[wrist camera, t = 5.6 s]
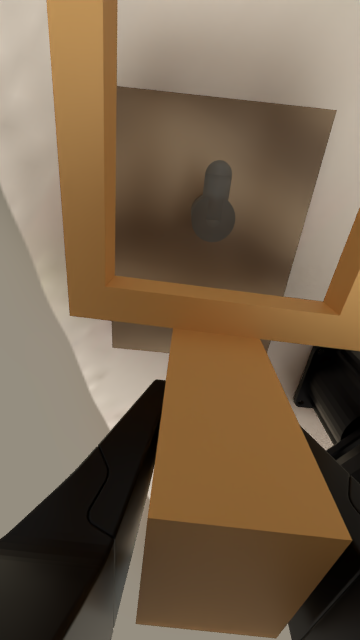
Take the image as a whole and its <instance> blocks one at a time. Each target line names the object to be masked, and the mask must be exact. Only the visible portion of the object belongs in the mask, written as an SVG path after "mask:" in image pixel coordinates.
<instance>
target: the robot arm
mask: <svg viewBox="0 0 360 640" xmlns="http://www.w3.org/2000/svg"><path fill="white" fill-rule="evenodd" d="M319 350H321V351H320V352H318V351H319ZM165 384H166V381H165V380H155V381H154V382H153V383H152V384H151V385H150V386H149V387H148V388H147V390H146V391H145V392H144V393H143V394H142V395H141V396H140V398H139V399H138V400H137V401H136V402H135V403H134V404H133V406H132V407H131V408H130V409H129V410H128V411H127V413H126V414H125V415H124V416H123V417H122V418H121V419H120V421H119V422H118V423H117V424H116V425H115V426H114V427H113V429H112V430H111V431H110V432H109V433H108V434H107V435H106V437H105V438H104V439H103V440H102V441H101V442H100V444H99V445H98V447H96V448H95V449H94V450H93V451H92V452H91V454H90V455H89V456H88V457H87V458H86V459H85V460H84V461H83V462H82V464H81V465H80V466H79V467H78V468H77V469H76V470H75V471H74V472H73V473H72V474H71V475H70V476H69V477H68V478H67V479H66V480H65V481H64V482H63V483H62V484H61V485H60V486H59V487H58V488H56V489H55V490H54V491H53V492H52V493H51V494H50V495H49V496H48V497H47V498H46V499H44V500H43V501H42V502H41V503H40V504H39V505H38V506H37V507H36V508H35V509H34V510H33V511H31V512H30V513H29V514H28V515H27V516H26V517H25V518H24V519H23V520H22V521H21V522H20V523H18V524H17V525H16V526H15V527H14V528H13V529H12V530H11V531H10V532H9V533H8V534H6V535H5V536H4V537H2V538H1V539H0V640H111V637H112V633H113V628H114V625H115V621H116V617H117V613H118V609H119V605H120V601H121V597H122V593H123V589H124V585H125V581H126V577H127V573H128V569H129V565H130V561H131V557H132V553H133V549H134V545H135V541H136V537H137V533H138V529H139V525H140V521H141V517H142V513H143V509H144V505H145V501H146V497H147V493H148V489H149V485H150V481H151V477H152V473H153V469H154V465H155V459H156V452H157V444H158V437H159V429H160V422H161V414H162V407H163V399H164V392H165ZM299 401H300V402H299ZM294 403H295V405H296V406H298V407H306V408H313V409H314V410H315V412H316V414H317V416H318V418H319V419H320V421H321V423H322V425H323V427H324V428H325V430H326V432H327V434H328V435H329V437H330V439H331V441H332V443H333V444H334V445H333V446H332V447H331V448H329V449H328V450H325V449H324V448H322V447H321V446H320V445H319V444H318V443H317V442H316V441H315V440H314V439H313V438H312V437H311V436H310V435H309V434H308V433H307V432H306V431H305V430H304V429H303V428H302V427H301V426H300V427H301V429H302V432H303V434H304V436H305V438H306V440H307V442H308V445H309V447H310V449H311V451H312V453H313V456H314V458H315V460H316V462H317V464H318V467H319V469H320V471H321V473H322V475H323V477H324V480H325V482H326V484H327V486H328V488H329V491H330V493H331V495H332V497H333V499H334V501H335V504H336V506H337V508H338V510H339V512H340V515H341V517H342V519H343V521H344V523H345V525H346V528H347V530H348V532H349V534H350V536H351V539H352V542H351V543H350V544H349V545H348V547H347V548H346V549H345V551H344V552H343V553H342V554H341V556H340V557H339V558H338V560H337V561H336V562H335V563H334V565H333V566H332V567H331V569H330V570H329V571H328V572H327V574H326V575H325V576H324V578H323V579H322V580H321V581H320V583H319V584H318V585H317V586H316V588H315V589H314V590H313V592H312V593H311V594H310V595H309V597H308V598H307V599H306V601H305V602H304V603H303V604H302V606H301V607H300V608H299V610H298V611H297V612H296V613H295V615H294V616H293V617H292V619H291V620H290V621H289V622H288V625H289V630H290V634H291V638H292V640H360V351H354V350H345V349H337V348H329V347H321V346H315V347H314V348H313V349H312V352H311V355H310V357H309V360H308V363H307V365H306V368H305V371H304V373H303V376H302V379H301V381H300V384H299V386H298V389H297V392H296V394H295V397H294Z"/></svg>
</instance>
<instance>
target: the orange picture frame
mask: <svg viewBox="0 0 360 640" xmlns="http://www.w3.org/2000/svg"><path fill="white" fill-rule="evenodd" d="M47 13H48V27H49V40H50V54H51V67H52V81H53V94H54V108H55V121H56V135H57V148H58V162H59V175H60V189H61V202H62V216H63V229H64V243H65V256H66V270H67V283H68V297H69V310H70V316H77V317H85V318H93V319H101V320H109V321H117V322H126V323H134V324H142V325H150V326H158V327H166V328H173V332H172V339H171V347H170V354H169V362H168V369H167V377H166V384H165V392H164V399H163V407H162V414H161V422H160V429H159V437H158V444H157V452H156V459H155V467H154V474H153V482H152V490H151V497H150V505H149V513H148V520H147V529H146V538H145V547H144V555H143V564H142V573H141V581H140V590H139V600H138V608H137V616H136V624H141V625H151V626H161V627H170V628H181V629H190V630H200V631H210V632H219V633H229V634H238V635H249V636H258V637H268V638H277V637H278V635H279V634H280V633H281V631H282V630H283V629H284V627H285V626H286V625H287V624H288V622H289V621H290V620H291V619H292V617H293V616H294V615H295V613H296V612H297V611H298V610H299V608H300V607H301V606H302V604H303V603H304V602H305V601H306V599H307V598H308V597H309V595H310V594H311V593H312V592H313V590H314V589H315V588H316V586H317V585H318V584H319V583H320V581H321V580H322V579H323V578H324V576H325V575H326V574H327V572H328V571H329V570H330V569H331V567H332V566H333V565H334V563H335V562H336V561H337V560H338V558H339V557H340V556H341V554H342V553H343V552H344V551H345V549H346V548H347V547H348V545H349V544H350V543H351V542H352V539H351V536H350V534H349V532H348V530H347V528H346V525H345V523H344V521H343V519H342V517H341V515H340V512H339V510H338V508H337V506H336V504H335V501H334V499H333V497H332V495H331V493H330V491H329V488H328V486H327V484H326V482H325V480H324V477H323V475H322V473H321V471H320V469H319V467H318V464H317V462H316V460H315V458H314V456H313V453H312V451H311V449H310V447H309V445H308V442H307V440H306V438H305V436H304V434H303V432H302V429H301V427H300V425H299V423H298V421H297V418H296V416H295V414H294V412H293V410H292V408H291V405H290V403H289V401H288V399H287V397H286V394H285V392H284V390H283V388H282V386H281V383H280V381H279V379H278V377H277V375H276V373H275V370H274V368H273V366H272V364H271V362H270V359H269V357H268V355H267V353H266V351H265V349H264V346H263V344H262V342H261V340H260V339H264V340H272V341H280V342H288V343H297V344H305V345H313V346H321V347H329V348H337V349H345V350H354V351H360V208H359V211H358V213H357V216H356V219H355V221H354V224H353V226H352V229H351V231H350V234H349V237H348V239H347V242H346V244H345V247H344V249H343V252H342V255H341V257H340V260H339V262H338V265H337V268H336V270H335V273H334V275H333V278H332V280H331V283H330V286H329V288H328V291H327V293H326V296H325V298H324V301H323V302H322V301H314V300H306V299H298V298H290V297H282V296H274V295H266V294H258V293H250V292H242V291H234V290H226V289H218V288H210V287H202V286H194V285H187V284H179V283H171V282H163V281H155V280H147V279H139V278H131V277H123V276H115V207H116V96H117V0H47Z"/></svg>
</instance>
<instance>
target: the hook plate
mask: <svg viewBox="0 0 360 640" xmlns="http://www.w3.org/2000/svg"><path fill="white" fill-rule="evenodd" d="M336 111H337V110H329V109H320V108H311V107H302V106H292V105H283V104H274V103H265V102H256V101H247V100H238V99H229V98H219V97H210V96H201V95H192V94H183V93H174V92H165V91H156V90H146V89H137V88H128V87H119V86H117V96H116V207H115V276H123V277H131V278H139V279H147V280H155V281H163V282H171V283H179V284H187V285H194V286H202V287H210V288H218V289H226V290H234V291H242V292H250V293H258V294H266V295H274V296H282V297H283V295H284V292H285V288H286V285H287V281H288V278H289V274H290V271H291V268H292V264H293V261H294V257H295V254H296V250H297V247H298V243H299V240H300V236H301V233H302V229H303V226H304V222H305V219H306V215H307V212H308V208H309V205H310V201H311V198H312V194H313V191H314V187H315V184H316V180H317V177H318V174H319V170H320V167H321V163H322V160H323V156H324V153H325V149H326V146H327V142H328V139H329V135H330V132H331V128H332V125H333V121H334V118H335V114H336ZM172 332H173V328H166V327H158V326H150V325H142V324H134V323H126V322H117V321H112V346H113V348H122V349H132V350H143V351H153V352H164V353H170V347H171V339H172ZM260 340H261V342H262V344H263V346H264V349H265V351H266V353H267V351H268V348H269V344H270V341H271V340H264V339H260Z"/></svg>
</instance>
